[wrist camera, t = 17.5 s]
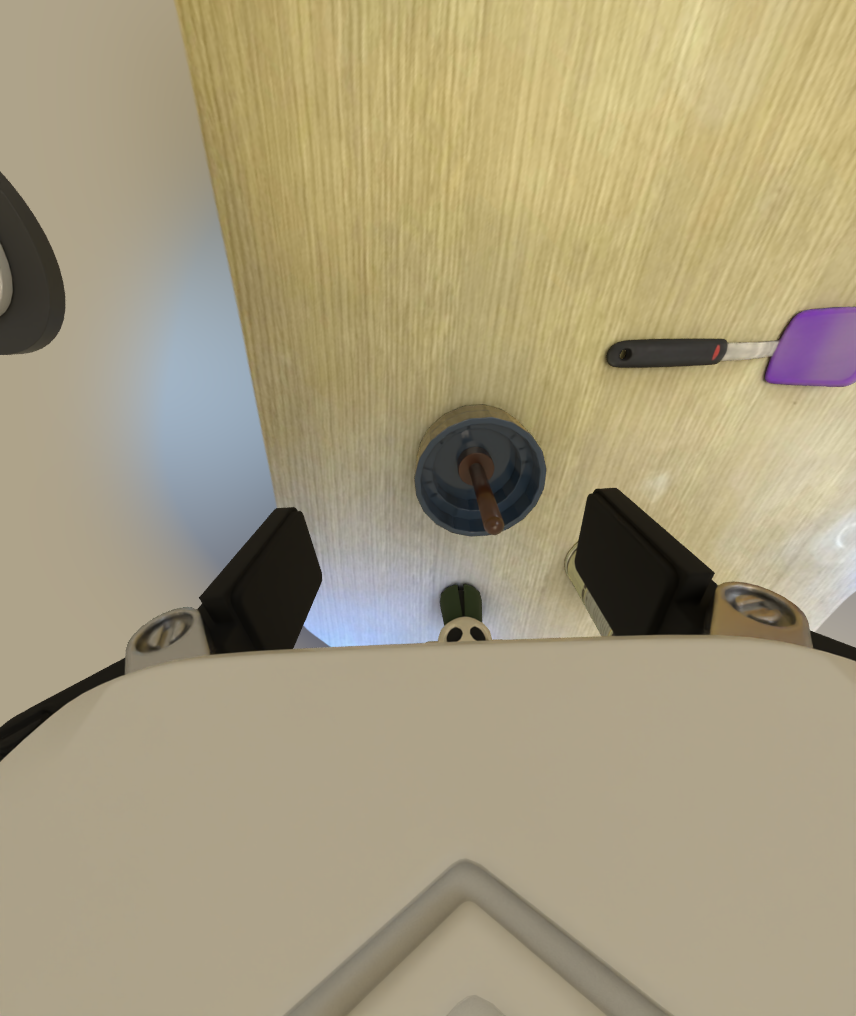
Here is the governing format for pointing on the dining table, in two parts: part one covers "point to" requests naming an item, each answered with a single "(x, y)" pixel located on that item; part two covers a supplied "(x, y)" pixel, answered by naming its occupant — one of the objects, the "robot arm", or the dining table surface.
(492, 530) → the brown wooden pestle
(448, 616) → the character mug
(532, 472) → the bowl
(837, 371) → the spatula
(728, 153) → the dining table surface
